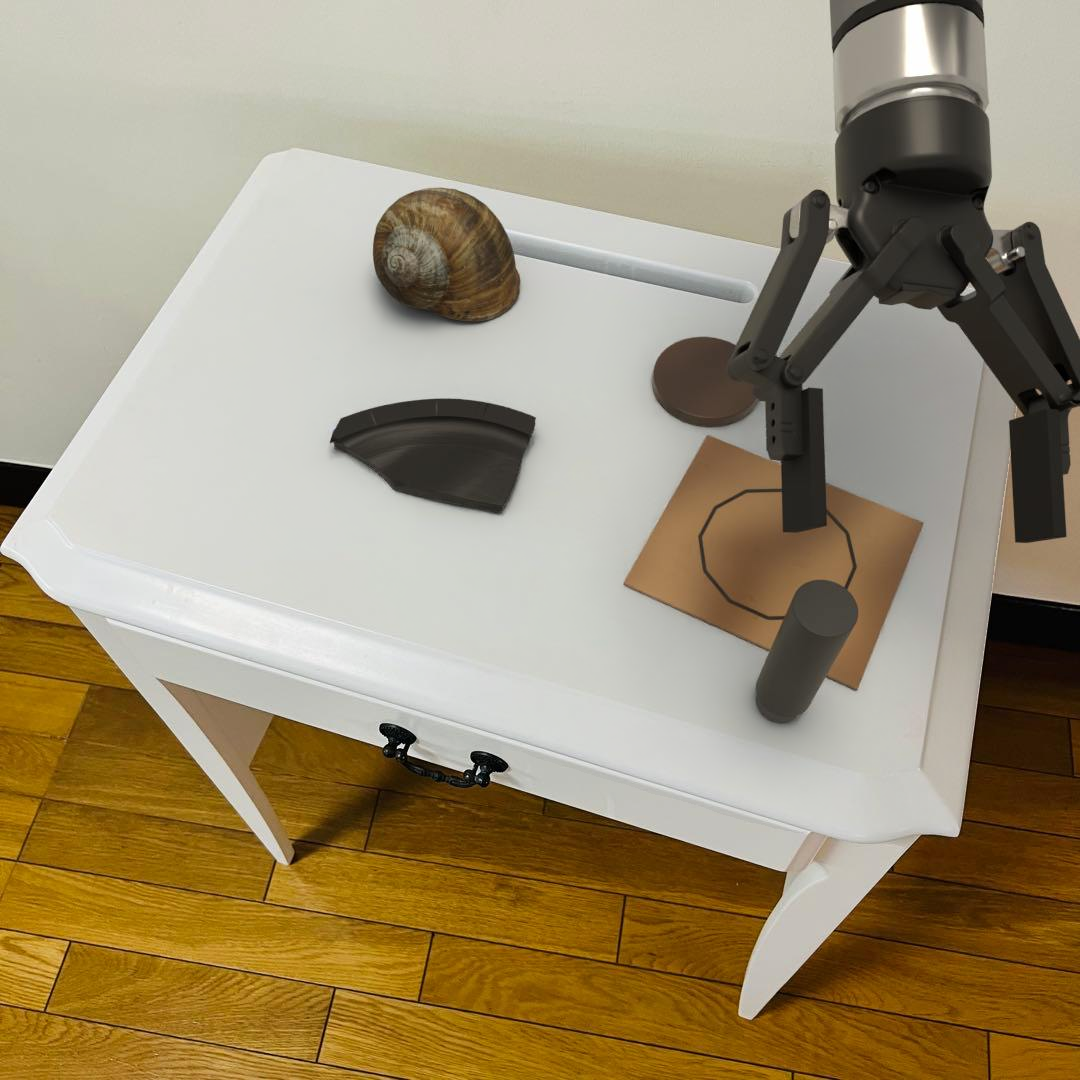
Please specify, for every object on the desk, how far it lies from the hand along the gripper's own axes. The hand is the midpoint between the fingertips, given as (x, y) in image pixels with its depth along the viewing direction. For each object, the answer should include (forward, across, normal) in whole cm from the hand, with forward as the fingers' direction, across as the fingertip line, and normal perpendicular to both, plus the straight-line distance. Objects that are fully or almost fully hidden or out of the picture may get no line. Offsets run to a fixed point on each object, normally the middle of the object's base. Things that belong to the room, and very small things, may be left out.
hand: (926, 535), depth 51 cm
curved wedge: (-9, +18, -29) cm, 35 cm away
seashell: (-23, +17, -36) cm, 46 cm away
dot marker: (+9, 0, -15) cm, 17 cm away
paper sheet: (-1, -2, -19) cm, 19 cm away
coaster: (-14, -1, -26) cm, 30 cm away
